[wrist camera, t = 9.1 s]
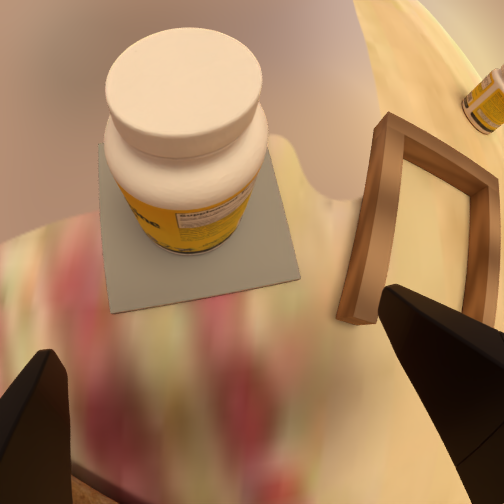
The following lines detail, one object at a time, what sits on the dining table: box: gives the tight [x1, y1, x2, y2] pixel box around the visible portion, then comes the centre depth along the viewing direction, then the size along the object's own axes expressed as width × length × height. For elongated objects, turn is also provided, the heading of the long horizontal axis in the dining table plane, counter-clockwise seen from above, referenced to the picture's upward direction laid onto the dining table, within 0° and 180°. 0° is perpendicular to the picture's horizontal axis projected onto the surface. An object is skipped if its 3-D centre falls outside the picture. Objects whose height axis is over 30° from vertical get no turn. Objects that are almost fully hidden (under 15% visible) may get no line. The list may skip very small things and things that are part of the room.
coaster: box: [98, 143, 301, 314], centre depth 19 cm, size 11×11×1 cm
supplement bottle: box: [463, 65, 504, 134], centre depth 22 cm, size 5×5×8 cm
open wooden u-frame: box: [336, 112, 501, 328], centre depth 20 cm, size 15×12×2 cm
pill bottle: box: [104, 28, 268, 255], centre depth 13 cm, size 6×6×11 cm
